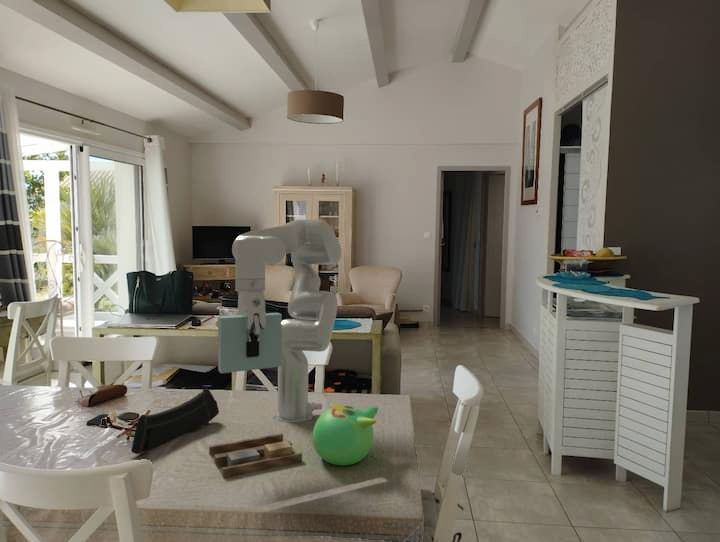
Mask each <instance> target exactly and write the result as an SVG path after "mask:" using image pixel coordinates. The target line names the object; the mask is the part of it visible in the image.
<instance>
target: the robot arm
mask: <svg viewBox="0 0 720 542" xmlns="http://www.w3.org/2000/svg"><path fill="white" fill-rule="evenodd" d="M231 247H232V248H231V251H232V253H231V254H232V256H233V257H234V259H235V292H238V299H237V315H241V316H242V317H243V321H244V328H245V329H246V330H247V335H248V342H246V356H247V357H258V356H259V335H260V333H261V332H260V327H261V329H263V330H264V329H265V328H266V313H267V312H266V299H265V294H264V292H265V291H266V265H275V264H278V263H280V262H282V261H283V259H284V258H285V256H286V255H287V254H290V257H291V262H292V266H293V269H294V273H295V274H294V275H295V279H294V283H293V286H292V290H291V293H290V295H289V300H288V305H287V312H288V314H289V316H290V317H292V318H285V319H282V366H281V367H277V410H276V411H274V412H273V413H272V420H276V421H278V422H283V423H298V422H299V423H300V422H304V421H311V420H312V419H313V417H314V415H313V412H314V411H315V410H322V409H323V404H322V403H321V402H319V403H316V402H312V401H311V402H309V362H308V357H307V356H306V354H305V353H304V352H305V351H307V352H321V353H322V352H325V350H327V349H328V348H329V346H330V343H331V339H332V335H333V330H334V326H335V322H336V317H337V312H338V300H337V297H336V295H335V294H334V293H333V292H331V291H327V290H320V287H321V282H322V281H321V278H320V276H319V274H318V272H317V271H316V269H314V268H313V266H312V265H325V266H326V265H330V266H331V265H333V266H334V265H336V264H338V263H339V262H340V260H341V257H342V248H341V243H340V241H339V239H338V237H337V236H336V234H335V231H334V230H333V228H332V226H331V225H330V224H329V223H328V222H327V221H326V220H324V219H295V220H292V221H289V222H286V223H285V224H282V225H278V226H273V227H269V228H268V227H267V228H263V229H258V230H253V231H252V230H251V231H247V232H244V233H242V234H240V235H238V236H237V237H236V238H235V239H234V241H233V243H232V246H231ZM259 322H260V325H261V326H259ZM252 327H254V329H251V328H252ZM250 329H251V330H250ZM251 332H253V333H252V334H251ZM303 351H304V352H303Z"/></svg>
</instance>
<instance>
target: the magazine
mask: <svg viewBox="0 0 720 542" xmlns="http://www.w3.org/2000/svg"><path fill="white" fill-rule="evenodd" d="M219 413H220V410H219V406H218V402H217V400H215V397H214V395H213V393H212V391H210V389H209V388H203V389H202V391H201V392H200V393H198V394H197V395H195V396H194V397H192V398H191V399H189V400H187V401H185V402H184V403H181V404H179V405H177V406H174V407H173V408H169V409H166V410H164V411H161V412H157V413H153V414H141V415H140V416H139V417H140V420H139V421H138V423H137V425H136V426H135V431H134V436H133V439H132V444H131V449H130V450H131V453H132V454H136V455H142V454H144V453H146V452H149V451H153V450H154V449H156V448H158V447H160V446H162V445H165V444H166V443H168V442H169V443H170V442H171V441H173V440H175V439H178V438H179V437H181V436H184V435H186V434H192V433H196V432H197V431H198V430H199V429H201V428H202V427H204V426H205V425H210V422H211V421H212V420H213V419H214V418H216V417H217V416H218V415H219Z"/></svg>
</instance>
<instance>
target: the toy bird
mask: <svg viewBox="0 0 720 542" xmlns="http://www.w3.org/2000/svg"><path fill="white" fill-rule="evenodd" d="M331 406H332V407H331V408H328V409H326V410H325V411H323V412H322V413H321V415H320V416H319V417H318V418H317V420H316V422H315V423H314V426H313V427H314V428H313V431H312V443H313V447H314V449H315V452H316V454H317V455H318V457H320V458H322V459H323V460H324V461H325V462H327V463H330V464H331V465H335V466H343V467H344V466H351V465H354V464H357V463H358V462H361V461H362V460H363V459H364V458H365V457H366V456H367V455H368V453H369V452H370V450H371V448H372V446H373V442H374V436H375V435H374V434H375V432H374V427H373V425H375V424H377V419H375V417H376V415H377V413H378V411H379V407H378V406H376V405H375V406H373V407H371V408H368V409H366V410H364V411H362V410H360V409H359V408H357V407H353V406H350V405H341V404H338V403H331Z"/></svg>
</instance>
